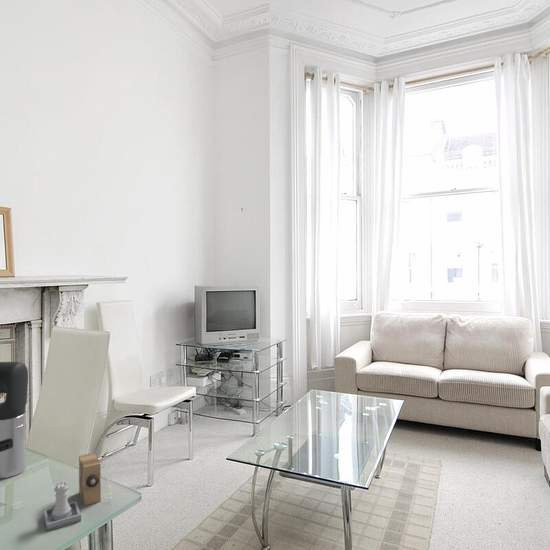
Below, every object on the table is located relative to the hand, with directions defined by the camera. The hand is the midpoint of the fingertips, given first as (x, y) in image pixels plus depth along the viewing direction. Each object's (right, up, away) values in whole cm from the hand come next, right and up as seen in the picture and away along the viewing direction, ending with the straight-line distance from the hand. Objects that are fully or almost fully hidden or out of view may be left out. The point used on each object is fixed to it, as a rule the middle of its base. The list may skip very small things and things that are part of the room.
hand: (3, 437), depth 99 cm
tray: (+11, -22, +5) cm, 25 cm away
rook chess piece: (+11, -21, +5) cm, 25 cm away
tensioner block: (+13, -22, +15) cm, 30 cm away
